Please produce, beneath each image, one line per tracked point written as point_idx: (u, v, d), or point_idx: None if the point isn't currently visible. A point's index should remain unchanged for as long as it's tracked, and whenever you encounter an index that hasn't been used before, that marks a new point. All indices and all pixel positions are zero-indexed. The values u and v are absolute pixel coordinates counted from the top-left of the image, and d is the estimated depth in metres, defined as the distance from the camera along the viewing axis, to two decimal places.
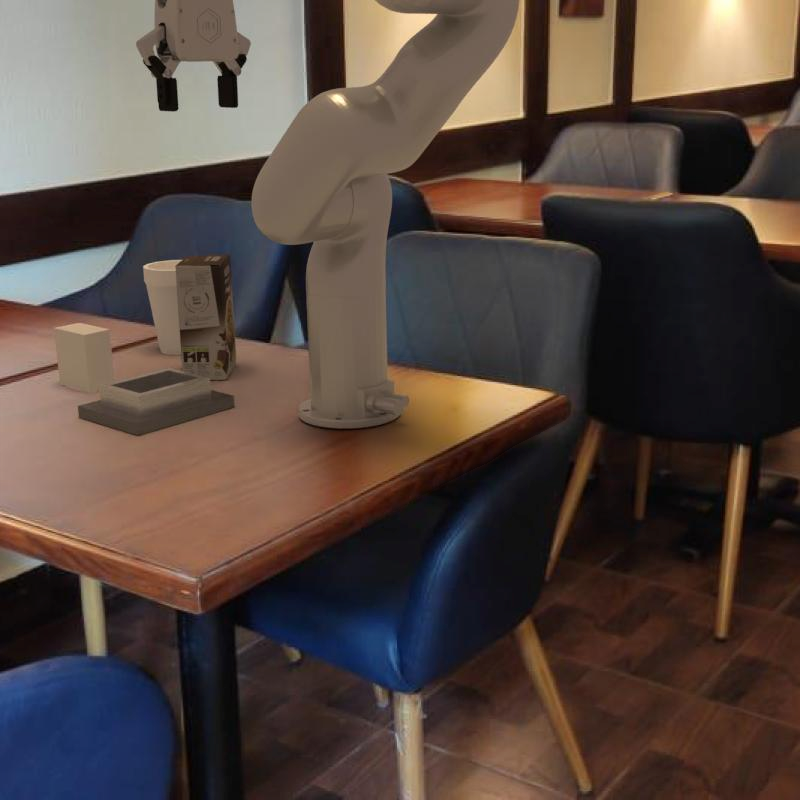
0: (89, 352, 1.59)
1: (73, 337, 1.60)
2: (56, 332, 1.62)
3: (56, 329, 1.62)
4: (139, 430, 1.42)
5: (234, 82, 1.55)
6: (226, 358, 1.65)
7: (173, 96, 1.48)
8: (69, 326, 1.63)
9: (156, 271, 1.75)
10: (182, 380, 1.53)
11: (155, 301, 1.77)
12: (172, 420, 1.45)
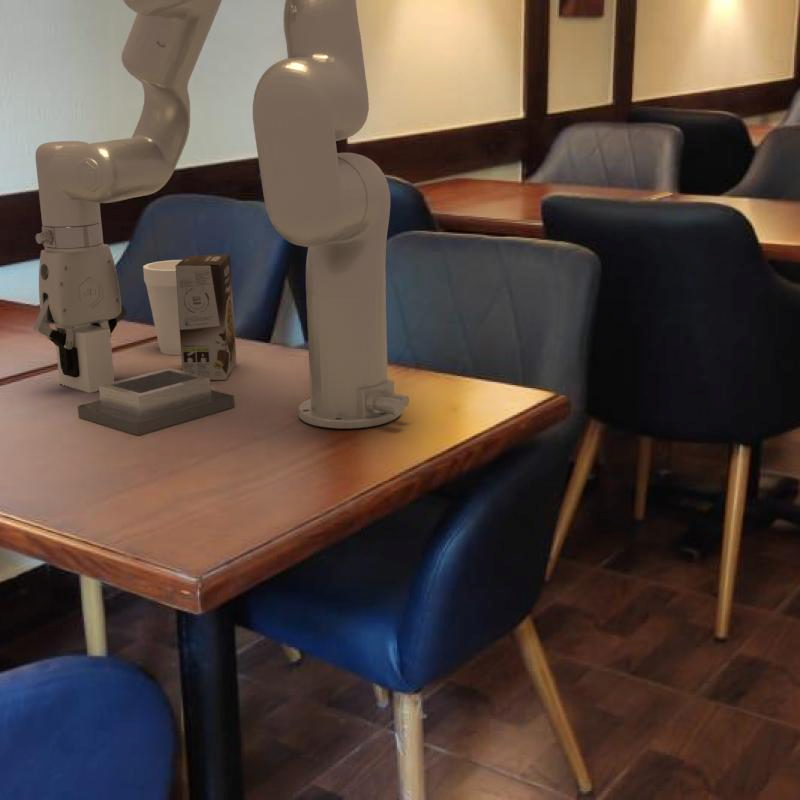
0: (89, 351, 1.59)
1: None
2: None
3: None
4: (139, 430, 1.42)
5: None
6: (226, 358, 1.65)
7: (74, 364, 1.60)
8: None
9: (156, 271, 1.75)
10: (182, 380, 1.53)
11: (155, 301, 1.77)
12: (172, 420, 1.45)
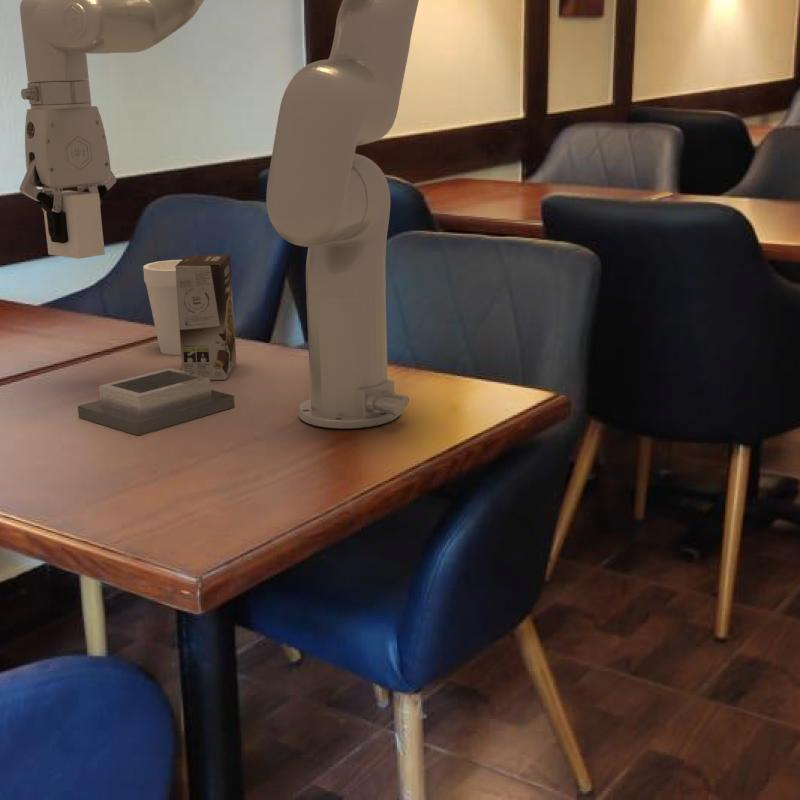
0: (77, 214, 1.54)
1: None
2: None
3: None
4: (139, 430, 1.42)
5: None
6: (226, 358, 1.65)
7: (63, 229, 1.55)
8: None
9: (156, 271, 1.75)
10: (182, 380, 1.53)
11: (155, 301, 1.77)
12: (172, 420, 1.45)
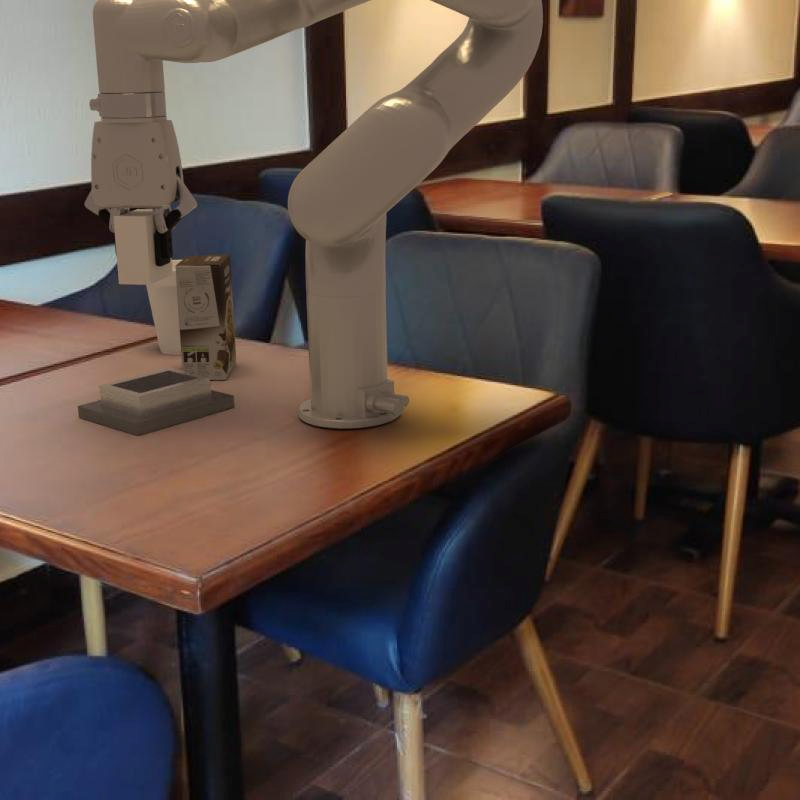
0: (118, 237, 1.42)
1: None
2: None
3: (136, 210, 1.47)
4: (139, 430, 1.42)
5: (155, 240, 1.43)
6: (226, 358, 1.65)
7: None
8: (148, 210, 1.46)
9: None
10: (182, 380, 1.53)
11: (155, 301, 1.77)
12: (172, 420, 1.45)
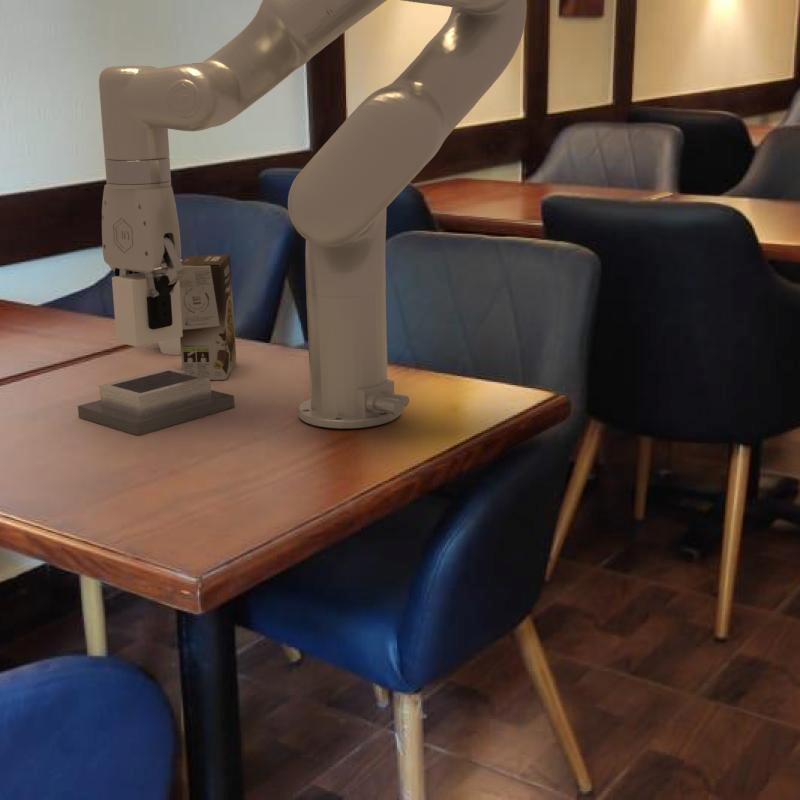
0: (115, 297, 1.45)
1: None
2: None
3: None
4: (139, 430, 1.42)
5: (147, 303, 1.44)
6: (226, 358, 1.65)
7: None
8: None
9: None
10: (182, 380, 1.53)
11: None
12: (172, 420, 1.45)
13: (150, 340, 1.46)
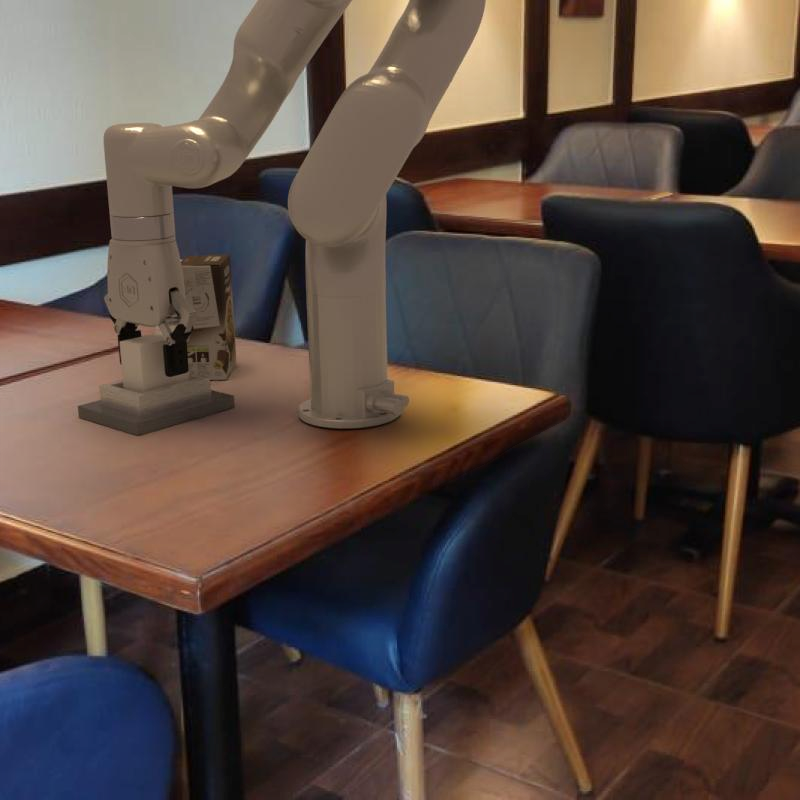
0: (123, 361, 1.47)
1: None
2: None
3: (161, 333, 1.52)
4: (139, 430, 1.42)
5: (164, 351, 1.44)
6: (226, 358, 1.65)
7: (119, 351, 1.51)
8: None
9: None
10: None
11: None
12: (172, 420, 1.45)
13: None
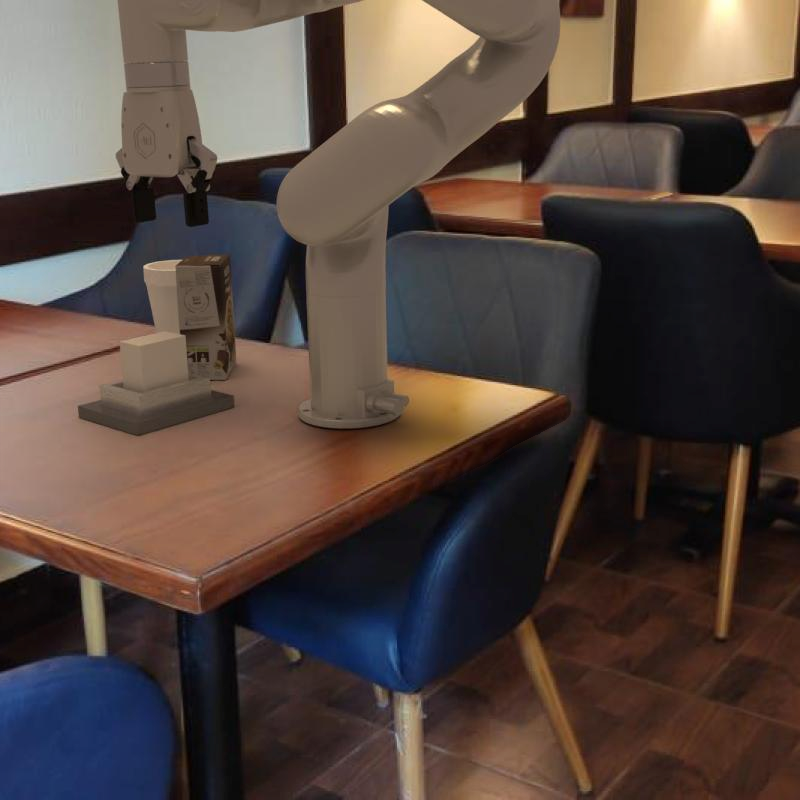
0: (123, 361, 1.47)
1: None
2: None
3: None
4: (139, 430, 1.42)
5: (184, 200, 1.42)
6: (226, 358, 1.65)
7: (133, 208, 1.49)
8: (168, 334, 1.50)
9: (156, 271, 1.75)
10: None
11: (155, 301, 1.77)
12: (172, 420, 1.45)
13: None
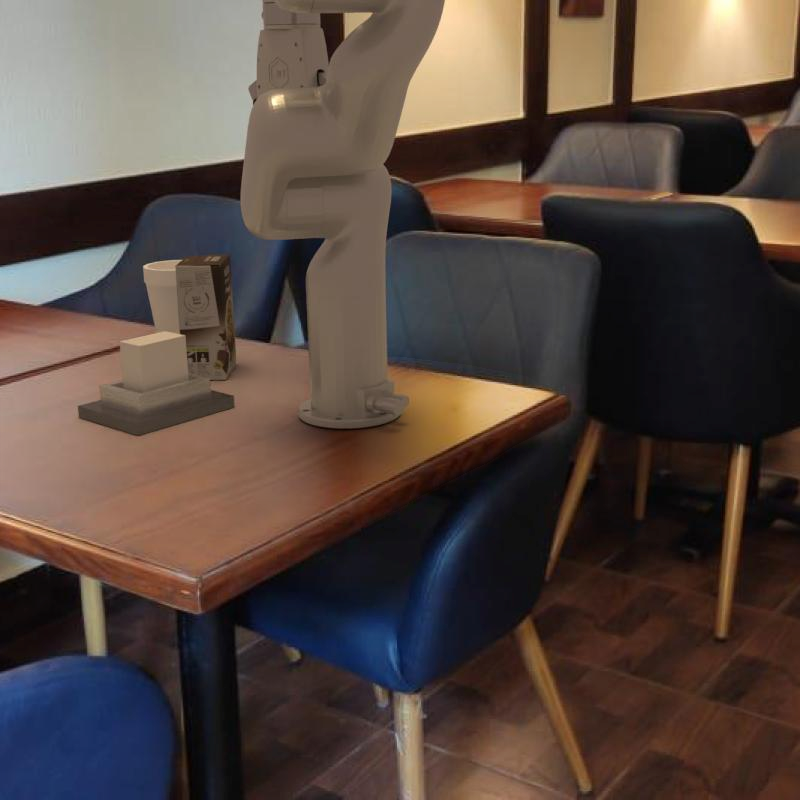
0: (123, 361, 1.47)
1: None
2: None
3: None
4: (139, 430, 1.42)
5: None
6: (226, 358, 1.65)
7: None
8: (168, 334, 1.50)
9: (156, 271, 1.75)
10: None
11: (155, 301, 1.77)
12: (172, 420, 1.45)
13: None
